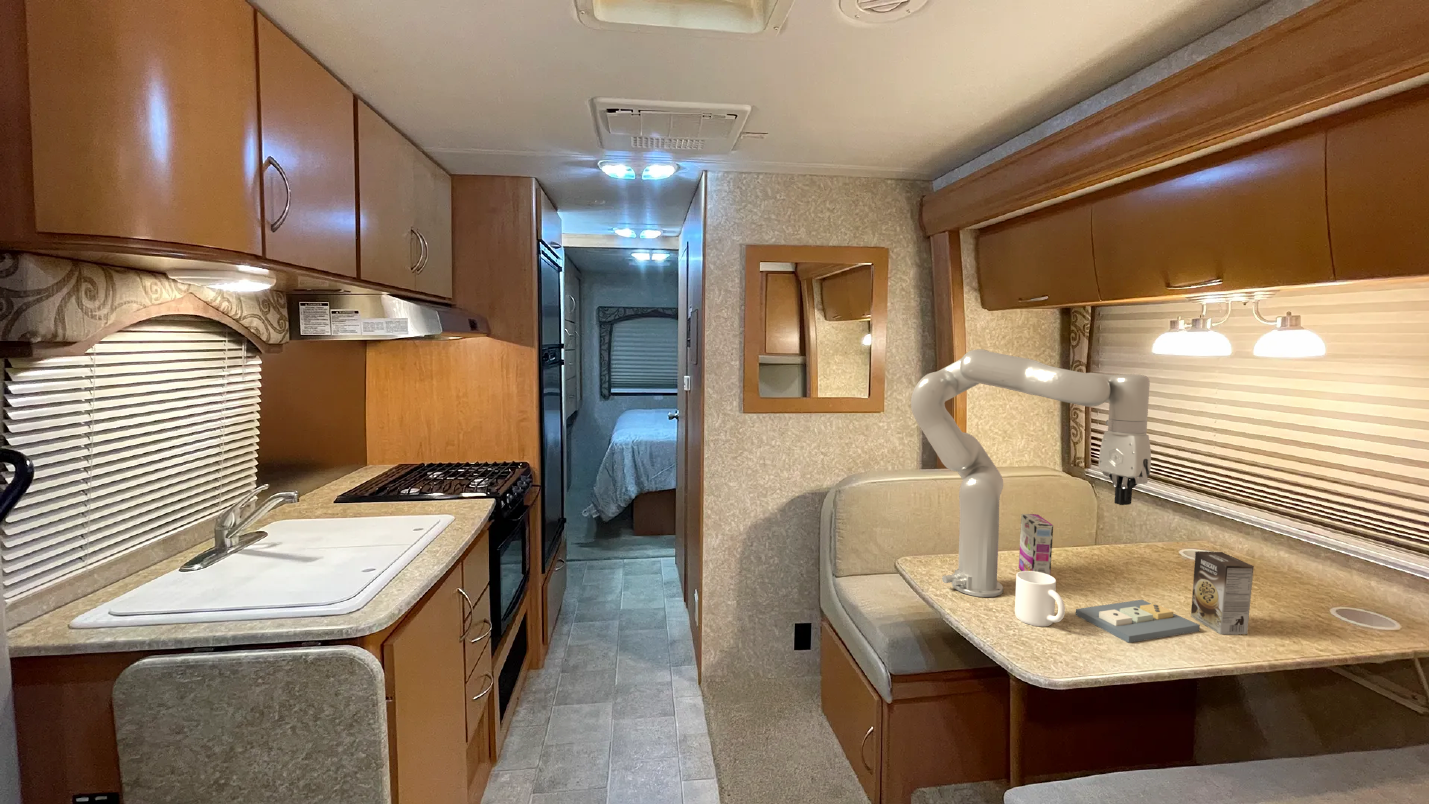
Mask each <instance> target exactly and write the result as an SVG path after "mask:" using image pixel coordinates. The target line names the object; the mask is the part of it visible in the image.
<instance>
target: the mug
mask: <svg viewBox="0 0 1429 804" xmlns="http://www.w3.org/2000/svg"><path fill="white" fill-rule="evenodd" d="M1015 577H1016V578H1015V599H1014V600H1015V601H1014V615H1015V617H1016V618H1017V619H1018V620H1019V621H1020V622H1022V623H1024V624H1026V625H1029V626H1033V627H1048V626H1051V625H1053V623H1059V622H1061V621H1062V620H1063V619H1064V617H1065V614H1066V613H1065V612H1066V606H1065V602H1064V600H1063V598H1062V596H1061V595H1060V594H1059V593H1058V592H1057V591H1056V586H1057V579H1056V578H1055V577H1054V576H1052V575H1051V574H1050V575H1048V574H1045V573H1041V572H1035V571H1021V570H1020V571H1018V572H1016V574H1015ZM1056 604H1057V613H1056V612H1055V610H1056V609H1055V608H1056ZM1055 613H1056V615H1055Z"/></svg>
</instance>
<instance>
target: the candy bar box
mask: <svg viewBox="0 0 1429 804" xmlns="http://www.w3.org/2000/svg"><path fill="white" fill-rule="evenodd" d="M1020 516H1021V518H1020V532H1019V533H1020V538H1019V539H1020V541H1019V553H1018V554H1019V555H1018V556H1019V557H1018V569H1019V570H1020V572H1021V571H1035V572H1041V573H1045V574H1048V575H1050V576H1051V573H1052V572H1051V570H1052V569H1051V568H1052V555H1053V554H1052V553H1053V552H1052V551H1053V538H1054V537H1053V535H1054V525H1053V524H1052V523H1051V522H1049V521H1048V520H1046V519H1045V518H1044V517H1042V516H1041V515H1039V514H1033V513H1021V514H1020Z"/></svg>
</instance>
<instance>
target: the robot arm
mask: <svg viewBox="0 0 1429 804" xmlns="http://www.w3.org/2000/svg"><path fill="white" fill-rule="evenodd" d="M979 384H982V385H987V386H991V387H996V388H1001V389H1005V390H1009V391H1014V392H1018V393H1023V394H1028V395H1031V396H1037V397H1043V398H1046V399H1051V400H1055V401H1057V402H1058V401H1059V402H1063V403H1068V404H1073V405H1077V406H1082V407H1089V408H1090V407H1093V408H1094V407H1098V406H1100V405H1102V404H1104V403H1108V404H1109V405H1108V419H1107V420H1106V421H1105V425H1106V426H1107V430H1104V432H1103V436H1102V439H1101V444H1100V449H1099V456H1098V469H1099V470H1100V471H1102V474H1103V475H1104V476H1105V477H1107V478H1109V479H1110V480H1111V483H1112V486H1113V488H1114V504H1116V505H1119V506H1127V505H1128V506H1129V505H1132V497H1133V489H1135V488H1136V486H1138V485H1140V484H1141V485H1142V484H1143V485H1145V484H1148V482H1149V480H1148V477H1149V476H1150V474H1151V467H1152V453H1151V450H1152V449H1151V440H1150V437H1149V434H1147V433H1148V432H1147V431H1148V416H1149V403H1150V402H1149V400H1150V398H1149V397H1150V387H1151V386H1150V378H1149V377H1148V376H1146V375H1143V374H1134V373H1133V374H1132V373H1131V374H1128V373H1127V374H1126V373H1124V374H1123V373H1122V374H1116V375H1114V374H1105V373H1099V372H1082V371H1075V370H1071V369H1066V368H1060V367H1056V366H1053V365H1048V364H1045V363H1042V362H1041V361H1038V360H1035V359H1030V358H1028V357H1022V356H1021V357H1020V356H1014V355H1009V354H1005V353H1000V352H999V353H998V352H994V351H990V350H986V349H984V348H983V349H980V348H978V349H971V350H969V351H968V352H966V353H965V354H963V356H962V357H961V358H959V359H958V360H956V361H954V362H952V363H951V364H949V365H947V366H945V367H943V368H941V369H940V370H937V371H934V372H930V373H927V374H925V375H924V376H923V377H922V378H920V379H919V381H918V382H917V383H916V385H915V387H914V389H913V391H912V393H911V399H910V408H911V412H912V415H913V417H914V420H915V421H916V423H917V424H918V426H919V428H920V429H921V431H922V433H923V434H924V436H925V437H926V439H927V441H928V443H929V444H930V445H931V447H932V449H933V450H934V452H935V453H936V455H937V457H938V458H939V460H940V461H941V463H942V465H943V466H944V467H945V468H946V469H948V470H950V471H951V472H957V473H958V475H959V477H960V478H961V483H960V486H959V490H958V491H959V493H958V499H959V503H958V505H959V538H958V542H959V543H958V568H956V569H954V573H952V574H951V575H950V574H947V575H945V574H944V575H942V577H941V581H942V582H943V583H944V584H949V583H951V585H952V587H953V588H954V589H955V590H957V591H958V592H960V593H963V594H966V595H969V596H973V597H980V598H992V597H998V596H1000V595H1002V594H1003V592H1004V586H1003V585H1002V584H1001V583H1000V582H999V581H998V567H999V566H998V565H999V564H998V562H999V561H998V560H999V538H1000V537H999V534H1000V533H999V531H1000V528H999V527H1000V500H1001V494H1002V492H1003V489H1004V480H1003V477H1002V474H1001V473H1000V471H999V469H998V468H997V466H996V465H995V463H994V462H993V460H992V459H991V458H990V455H989V454H988V452H987V451H986V449H984V447H983V445H982V444H981V443H980V441H979V440H978V439H977V438H976V437H975V436H974V435H972V434H970V433H968V432H963V431H962V430H961V428H960V427H959V426H958V424H957V422H956V420H955V419H954V417H953V416H952V415H951V414H950V412H949V411H948V410H947V408H946V404H945V403H946V402H947V401H949V400H951V399H953V398H955V397H957V396H959V395H960V394H962V393H964V392H966V391H968V390H970V389H972V388H975V386H978V385H979Z"/></svg>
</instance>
